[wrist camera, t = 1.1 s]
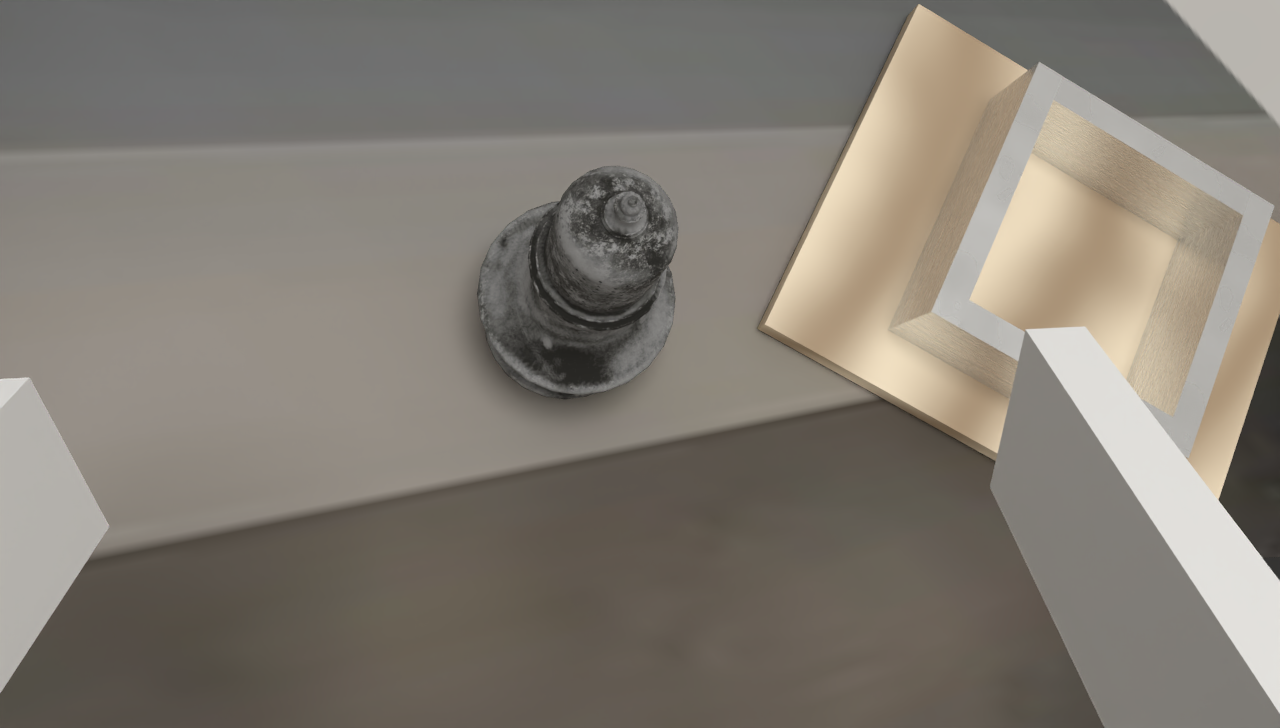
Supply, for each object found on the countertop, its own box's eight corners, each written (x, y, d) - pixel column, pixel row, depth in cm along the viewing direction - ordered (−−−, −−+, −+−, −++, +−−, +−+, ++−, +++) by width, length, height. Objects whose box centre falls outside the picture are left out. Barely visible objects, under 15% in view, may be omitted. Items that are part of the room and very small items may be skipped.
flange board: (757, 328, 32) (765, 324, 31) (908, 14, 35) (918, 3, 34) (1179, 563, 33) (1197, 564, 33) (1285, 244, 37) (1304, 238, 36)
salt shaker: (595, 205, 31) (679, 23, 20) (682, 353, 31) (819, 258, 19) (441, 284, 30) (433, 138, 18) (531, 440, 29) (582, 395, 18)
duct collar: (887, 330, 32) (931, 311, 29) (989, 100, 34) (1039, 61, 31) (1123, 463, 33) (1188, 458, 30) (1206, 231, 35) (1274, 206, 32)
